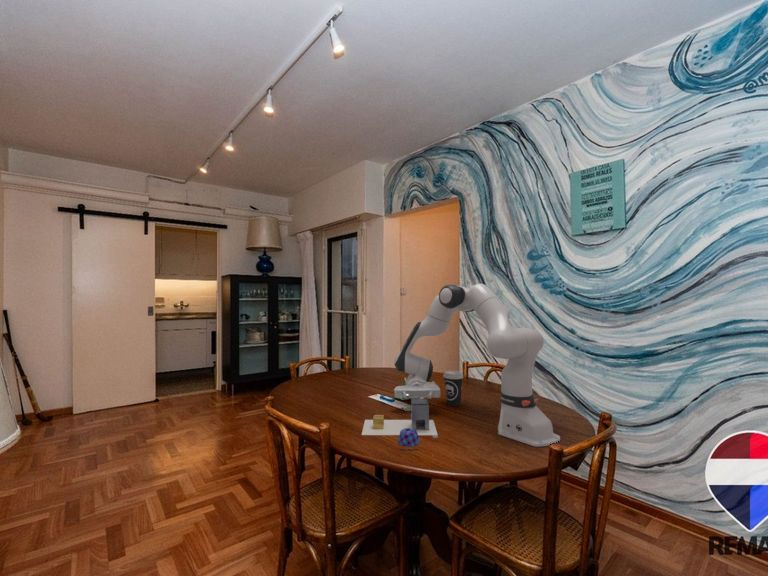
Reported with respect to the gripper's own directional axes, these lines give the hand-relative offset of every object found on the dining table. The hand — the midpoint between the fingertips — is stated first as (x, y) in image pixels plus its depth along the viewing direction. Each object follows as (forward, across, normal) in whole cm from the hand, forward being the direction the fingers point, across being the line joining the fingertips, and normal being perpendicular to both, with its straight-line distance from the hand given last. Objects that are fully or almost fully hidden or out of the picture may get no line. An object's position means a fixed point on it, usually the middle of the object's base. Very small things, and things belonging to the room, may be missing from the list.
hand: (418, 396), depth 152 cm
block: (+12, -16, +8) cm, 22 cm away
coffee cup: (-20, +18, +9) cm, 29 cm away
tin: (+12, 0, +8) cm, 15 cm away
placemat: (+12, -8, +9) cm, 17 cm away
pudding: (+26, -5, +10) cm, 28 cm away
